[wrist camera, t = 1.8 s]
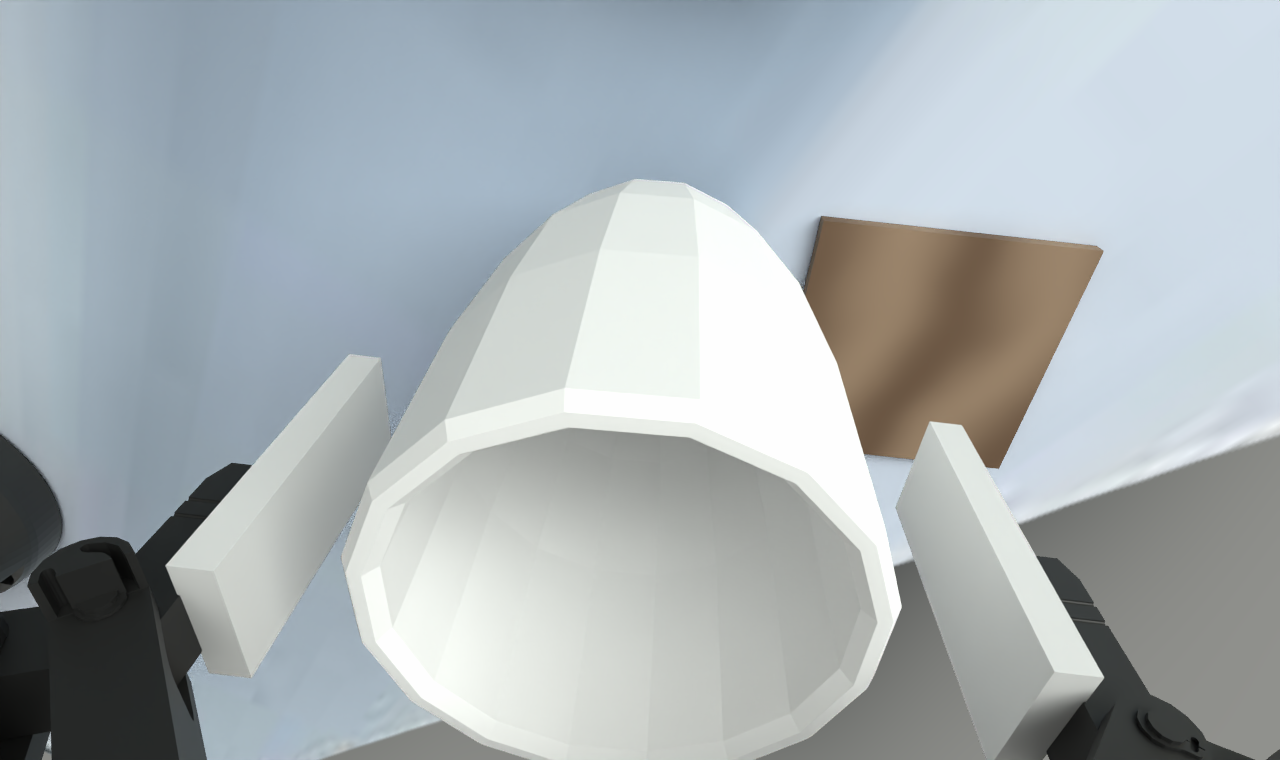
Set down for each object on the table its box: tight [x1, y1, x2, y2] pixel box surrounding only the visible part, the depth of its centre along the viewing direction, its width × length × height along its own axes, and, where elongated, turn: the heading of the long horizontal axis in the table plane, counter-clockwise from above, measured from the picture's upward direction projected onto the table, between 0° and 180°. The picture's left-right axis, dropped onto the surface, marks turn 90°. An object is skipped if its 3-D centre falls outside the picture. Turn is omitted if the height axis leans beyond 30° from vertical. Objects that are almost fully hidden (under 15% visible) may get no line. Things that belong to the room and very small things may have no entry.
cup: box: [341, 179, 902, 760], centre depth 21 cm, size 10×10×22 cm
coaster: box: [803, 216, 1104, 469], centre depth 32 cm, size 12×12×1 cm
